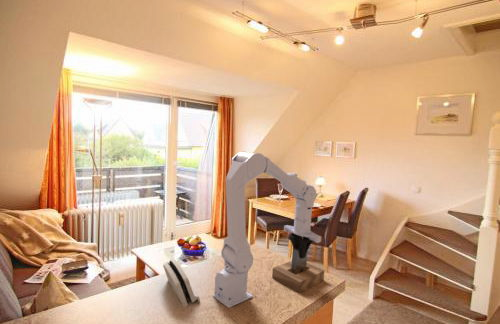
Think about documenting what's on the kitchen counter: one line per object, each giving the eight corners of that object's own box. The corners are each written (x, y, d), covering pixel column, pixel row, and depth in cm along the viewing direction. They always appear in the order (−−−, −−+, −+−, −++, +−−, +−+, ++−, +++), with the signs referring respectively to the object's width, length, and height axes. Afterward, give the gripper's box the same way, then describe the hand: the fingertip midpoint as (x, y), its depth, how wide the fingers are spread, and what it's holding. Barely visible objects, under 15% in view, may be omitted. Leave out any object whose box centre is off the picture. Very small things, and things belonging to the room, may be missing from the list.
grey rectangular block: (295, 270, 95) (297, 250, 94) (291, 268, 96) (292, 248, 96) (306, 265, 99) (307, 246, 98) (301, 263, 100) (303, 245, 100)
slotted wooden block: (299, 292, 88) (300, 282, 88) (272, 277, 97) (272, 268, 97) (323, 279, 98) (324, 270, 98) (296, 267, 107) (297, 258, 107)
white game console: (201, 302, 80) (191, 273, 77) (185, 312, 78) (175, 282, 75) (182, 276, 94) (174, 251, 92) (169, 284, 92) (160, 258, 89)
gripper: (327, 222, 93) (324, 260, 94) (293, 212, 104) (290, 247, 105) (315, 225, 89) (312, 266, 90) (281, 214, 99) (278, 251, 100)
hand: (299, 256), depth 97 cm, fingers closed on grey rectangular block, 2 cm apart
